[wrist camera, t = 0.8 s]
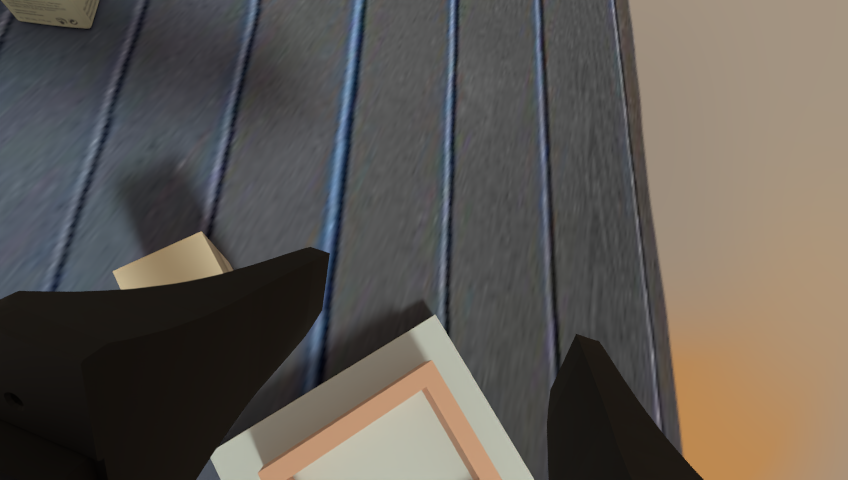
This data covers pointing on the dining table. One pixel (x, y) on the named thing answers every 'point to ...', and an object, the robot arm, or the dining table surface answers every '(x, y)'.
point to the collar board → (382, 423)
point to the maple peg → (174, 264)
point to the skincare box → (54, 12)
